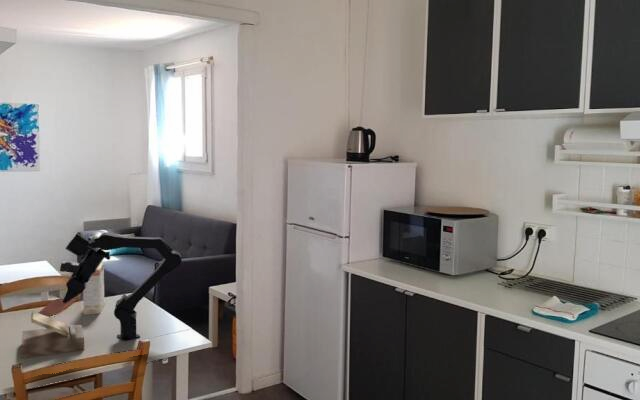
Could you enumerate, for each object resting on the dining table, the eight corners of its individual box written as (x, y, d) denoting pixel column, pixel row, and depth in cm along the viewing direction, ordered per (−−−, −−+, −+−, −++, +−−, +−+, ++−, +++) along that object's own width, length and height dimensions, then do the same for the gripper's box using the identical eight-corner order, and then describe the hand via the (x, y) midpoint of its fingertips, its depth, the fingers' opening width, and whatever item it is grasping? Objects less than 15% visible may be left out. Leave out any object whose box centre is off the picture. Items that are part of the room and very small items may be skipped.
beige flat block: (81, 336, 214) (81, 322, 213) (84, 349, 200) (83, 334, 200) (22, 343, 205) (22, 328, 204) (21, 357, 192) (21, 342, 191)
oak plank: (66, 327, 209) (67, 324, 209) (67, 336, 200) (69, 333, 200) (31, 314, 203) (33, 311, 203) (31, 322, 194) (33, 319, 194)
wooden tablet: (56, 300, 261) (56, 297, 261) (78, 301, 262) (78, 297, 262) (30, 318, 235) (30, 314, 235) (55, 318, 235) (55, 314, 235)
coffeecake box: (88, 304, 254) (87, 261, 252) (105, 303, 256) (104, 261, 254) (82, 314, 240) (81, 269, 238) (100, 313, 242) (99, 268, 240)
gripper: (74, 247, 214) (49, 281, 213) (66, 256, 196) (40, 294, 195) (100, 262, 217) (76, 296, 216) (95, 273, 200) (69, 310, 198)
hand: (65, 299), depth 207 cm, fingers open, 9 cm apart
